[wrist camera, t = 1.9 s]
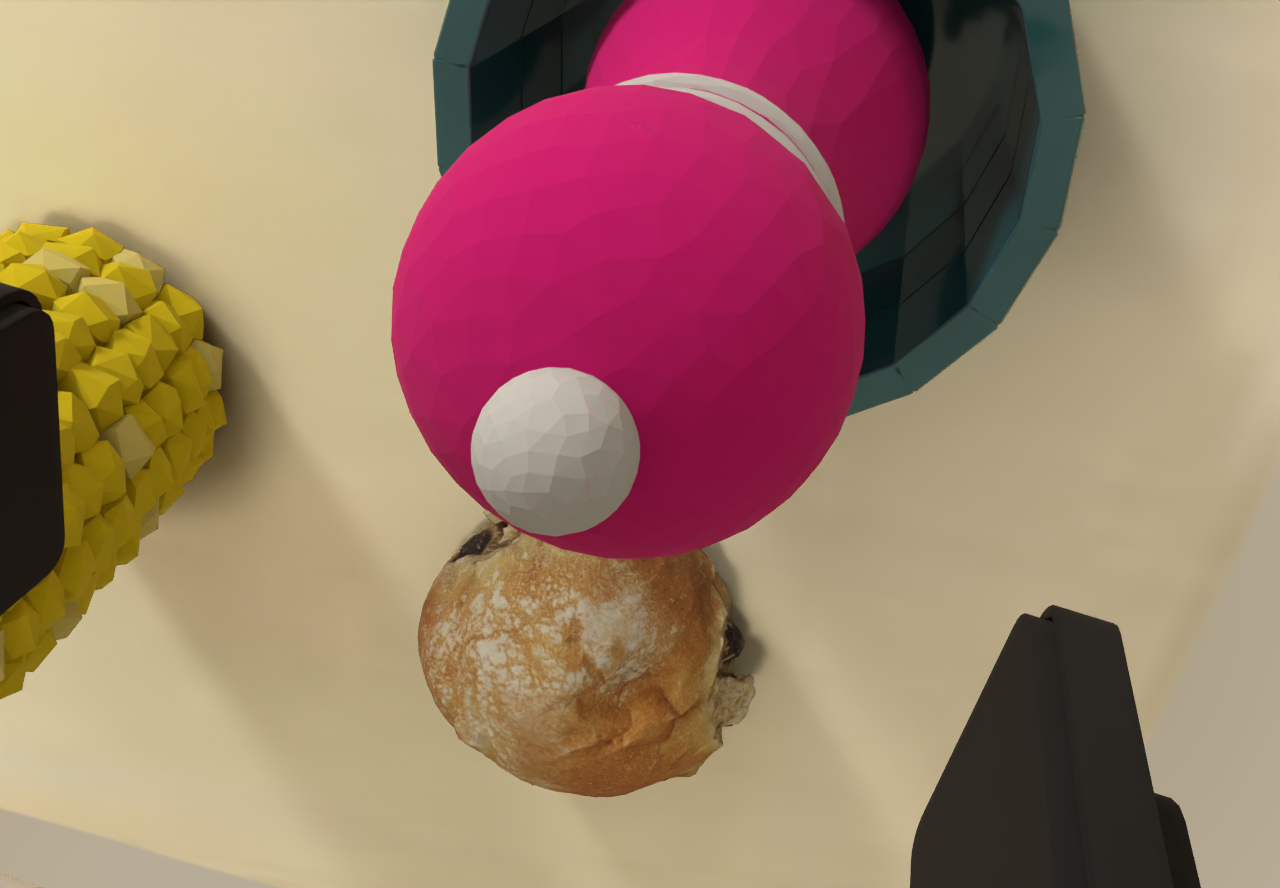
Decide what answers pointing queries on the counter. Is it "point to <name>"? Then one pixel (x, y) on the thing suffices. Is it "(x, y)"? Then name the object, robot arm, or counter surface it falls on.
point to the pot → (940, 192)
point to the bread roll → (582, 661)
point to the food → (108, 416)
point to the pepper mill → (663, 272)
